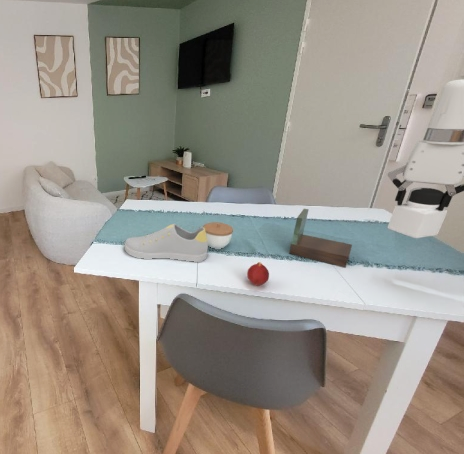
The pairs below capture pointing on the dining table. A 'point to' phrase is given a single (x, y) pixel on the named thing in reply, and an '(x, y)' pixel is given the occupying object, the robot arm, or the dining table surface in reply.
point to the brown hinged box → (318, 246)
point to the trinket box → (218, 234)
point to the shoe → (170, 244)
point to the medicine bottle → (419, 214)
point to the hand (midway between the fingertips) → (419, 206)
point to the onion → (258, 274)
